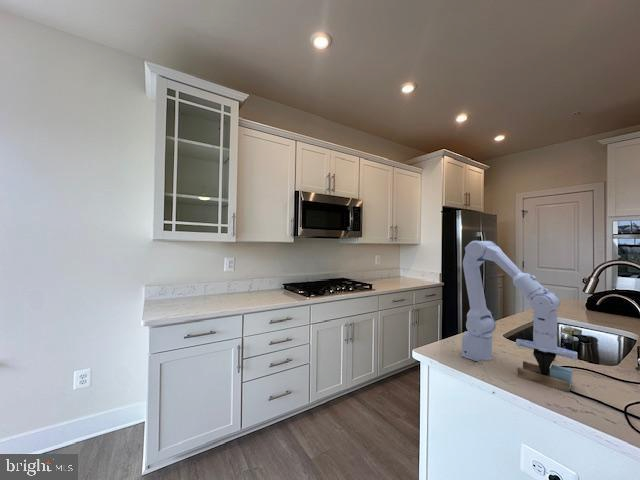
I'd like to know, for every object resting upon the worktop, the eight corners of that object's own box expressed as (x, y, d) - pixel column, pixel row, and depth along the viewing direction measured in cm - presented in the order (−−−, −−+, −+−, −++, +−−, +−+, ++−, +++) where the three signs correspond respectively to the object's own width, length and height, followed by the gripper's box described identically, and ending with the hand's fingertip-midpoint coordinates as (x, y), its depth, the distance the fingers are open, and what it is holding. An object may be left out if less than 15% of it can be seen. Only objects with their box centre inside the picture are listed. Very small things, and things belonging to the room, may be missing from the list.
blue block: (549, 383, 81) (550, 368, 81) (552, 378, 84) (552, 364, 84) (570, 390, 78) (570, 374, 78) (571, 384, 81) (572, 369, 81)
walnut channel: (517, 379, 85) (517, 368, 85) (523, 371, 91) (523, 360, 91) (568, 395, 77) (568, 383, 77) (571, 385, 82) (572, 373, 82)
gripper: (513, 328, 86) (513, 370, 86) (575, 341, 76) (575, 389, 76) (518, 324, 91) (518, 364, 91) (578, 335, 81) (577, 381, 80)
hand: (544, 375), depth 84 cm, fingers closed
